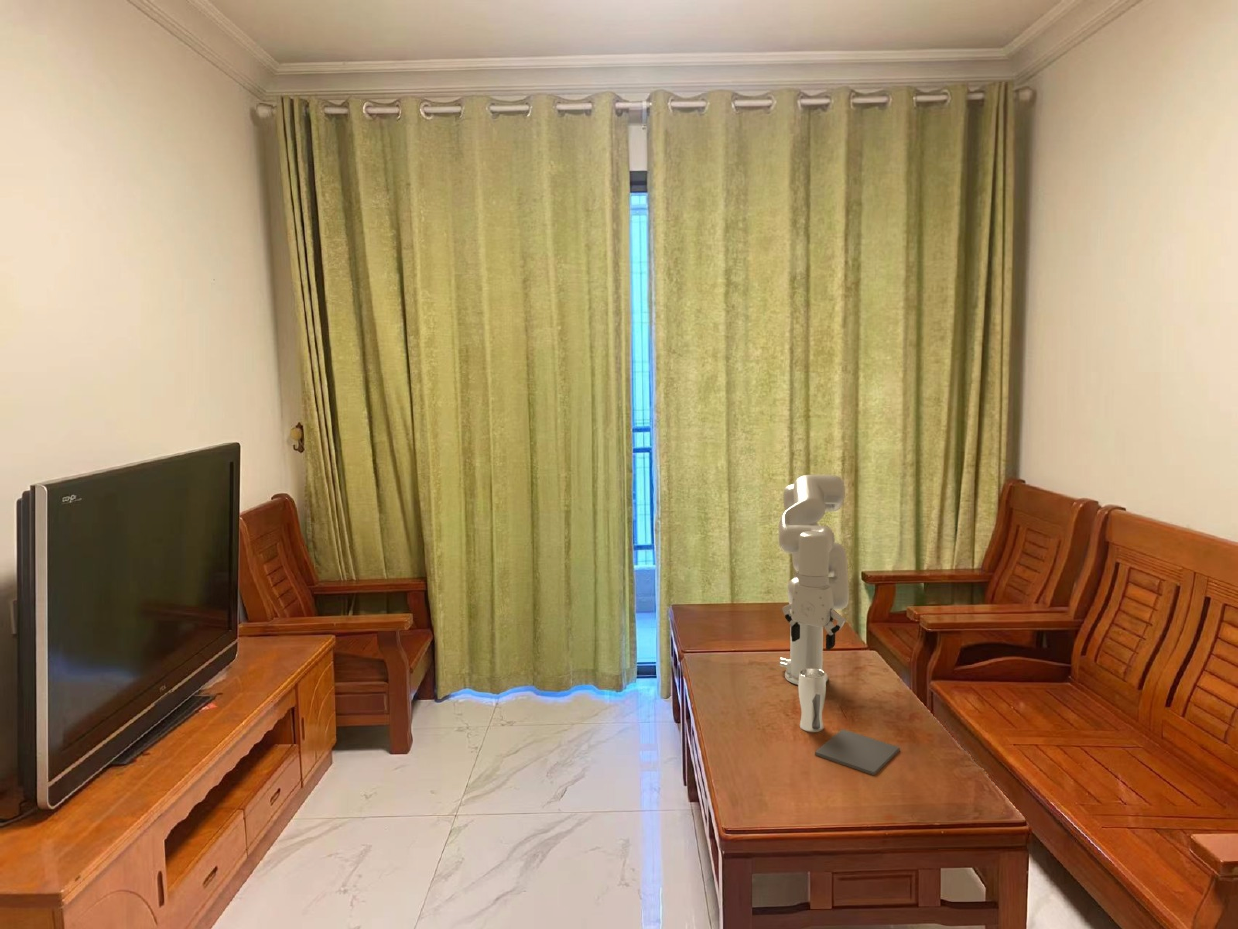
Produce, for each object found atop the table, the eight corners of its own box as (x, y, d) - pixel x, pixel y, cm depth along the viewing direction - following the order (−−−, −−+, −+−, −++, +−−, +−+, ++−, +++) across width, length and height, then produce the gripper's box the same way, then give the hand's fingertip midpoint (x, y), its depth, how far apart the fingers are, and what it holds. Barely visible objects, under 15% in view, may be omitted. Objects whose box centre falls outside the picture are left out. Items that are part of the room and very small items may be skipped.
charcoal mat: (815, 754, 190) (815, 751, 190) (842, 732, 202) (842, 729, 201) (874, 775, 181) (874, 772, 180) (899, 750, 192) (899, 747, 192)
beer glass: (806, 735, 200) (806, 679, 198) (793, 723, 207) (793, 669, 205) (830, 731, 202) (831, 676, 200) (816, 719, 209) (817, 666, 207)
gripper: (776, 577, 202) (775, 641, 204) (838, 589, 190) (837, 656, 193) (790, 571, 207) (790, 633, 210) (851, 582, 196) (850, 647, 198)
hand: (812, 644), depth 201 cm, fingers open, 9 cm apart
